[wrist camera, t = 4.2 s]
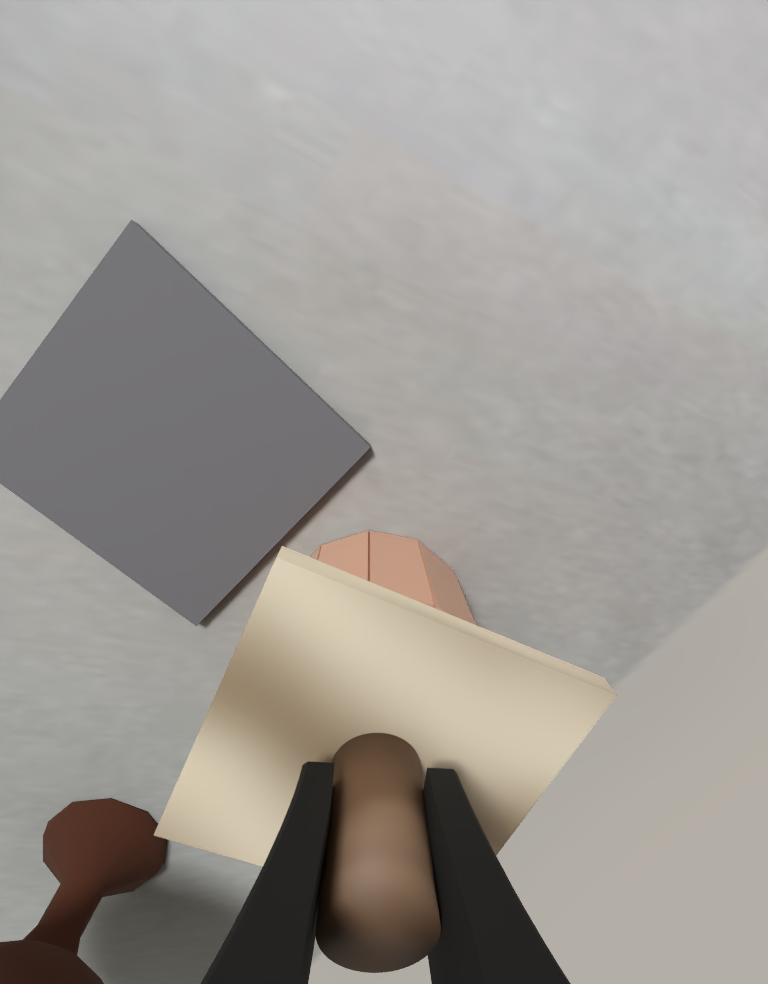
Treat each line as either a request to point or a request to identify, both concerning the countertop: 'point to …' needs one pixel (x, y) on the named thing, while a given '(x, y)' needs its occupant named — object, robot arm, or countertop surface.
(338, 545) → the bowl
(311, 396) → the mat
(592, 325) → the countertop surface
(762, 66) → the countertop surface
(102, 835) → the ice cream bowl
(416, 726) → the cover
